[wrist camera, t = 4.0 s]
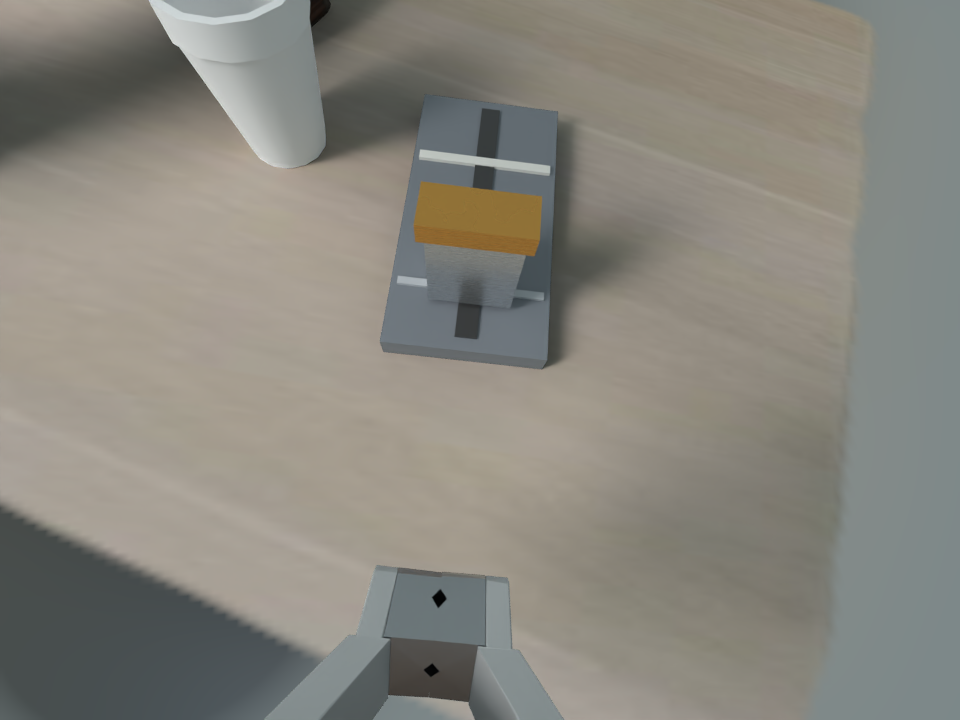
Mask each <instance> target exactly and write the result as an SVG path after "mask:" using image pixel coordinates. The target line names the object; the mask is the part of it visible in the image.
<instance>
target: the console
mask: <svg viewBox="0 0 960 720" xmlns="http://www.w3.org/2000/svg"><path fill="white" fill-rule="evenodd" d="M557 120H558V112H557V111H550V110H542V109H534V108H527V107H519V106H512V105H504V104H496V103H489V102H481V101H474V100H466V99H458V98H451V97H443V96H436V95H428V94H425V97H424V102H423V108H422V113H421V119H420V124H419V130H418V135H417V141H416V146H415V152H414V157H413V163H412V168H411V173H410V179H409V184H408V190H407V195H406V201H405V206H404V212H403V217H402V223H401V228H400V234H399V239H398V245H397V250H396V255H395V261H394V266H393V272H392V277H391V283H390V288H389V294H388V299H387V305H386V310H385V316H384V321H383V327H382V332H381V337H380V344H381V346H382V349H383V352H391V353H400V354H409V355H418V356H427V357H436V358H445V359H454V360H463V361H472V362H481V363H490V364H499V365H508V366H517V367H526V368H535V369H542V368H543V366H544V365H545V363H546V362H547V355H548V331H549V308H550V284H551V261H552V237H553V214H554V190H555V167H556V143H557ZM421 181H423V182H431V183H439V184H447V185H455V186H463V187H471V188H479V189H487V190H495V191H503V192H511V193H519V194H527V195H535V196H542V210H541V228H540V241H539V244H538V247H537V250H536V253H535V256H528V255H526V257H525V261H524V264H523V267H522V271H521V274H520V277H519V281H518V284H517V287H516V291H515V294H514V297H513V301H512V304H511V307H510V309H508V308H499V307H491V306H482V305H473V304H465V303H456V302H447V301H439V300H430V299H428V290H427V277H426V264H425V251H424V243H419V242H415V235H414V226H413V225H414V219H415V213H416V207H417V201H418V195H419V190H420V184H421Z"/></svg>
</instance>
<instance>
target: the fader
mask: <svg viewBox="0 0 960 720" xmlns="http://www.w3.org/2000/svg"><path fill="white" fill-rule="evenodd" d="M541 210H542V196H535V195H527V194H519V193H511V192H503V191H495V190H487V189H479V188H471V187H463V186H455V185H447V184H439V183H431V182H423V181H421V184H420V190H419V195H418V201H417V207H416V213H415V219H414V225H413V226H414V235H415V242H419V243H424V251H425V264H426V277H427V290H428V299H430V300H439V301H447V302H456V303H465V304H473V305H482V306H491V307H499V308H508V309H510V307H511V304H512V301H513V297H514V294H515V291H516V287H517V284H518V281H519V277H520V274H521V271H522V267H523V264H524V261H525V257H526V255H528V256H535V253H536V250H537V247H538V244H539V241H540V228H541Z"/></svg>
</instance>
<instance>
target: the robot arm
mask: <svg viewBox="0 0 960 720" xmlns="http://www.w3.org/2000/svg"><path fill="white" fill-rule="evenodd" d="M388 695H394V696H412V697H429V698H438V699H446V700H455V701H464V702H469V707H470V709H471V711H472V714H473V716H474V718H475V720H564V719H563V717H562V716H561V714H560V713H559V711H558V710H557V708H556V706H555V705H554V703H553V702H552V700H551V699H550V697H549V696H548V694H547V693H546V691H545V689H544V688H543V686H542V685H541V683H540V682H539V680H538V679H537V677H536V675H535V674H534V672H533V671H532V669H531V668H530V666H529V665H528V663H527V661H526V660H525V658H524V657H523V655H522V654H521V652H520V651H519V650H515V649H512V632H511V611H510V591H509V581H508V578H505V577H494V576H485V575H477V574H464V573H451V572H442V573H441V572H433V571H424V570H416V569H408V568H400V567H390V566H380V565H377V566H376V568H375V570H374V572H373V575H372V579H371V582H370V586H369V590H368V593H367V597H366V600H365V604H364V608H363V611H362V615H361V618H360V622H359V625H358V629H357V633H356V635H348V636H347V637H346V638H345V639H344V640H343V641H342V642H341V643H340V644H339V645H338V646H337V647H336V648H335V649H334V650H333V651H332V652H331V653H330V654H329V655H328V656H327V657H326V658H325V659H324V660H323V661H322V662H321V663H320V664H319V665H318V666H317V667H316V668H315V669H314V670H313V671H312V672H311V673H310V674H309V675H308V676H307V677H306V678H305V679H304V680H303V681H302V682H301V683H300V684H299V685H298V686H297V687H296V688H295V689H294V690H293V691H292V692H291V693H290V694H289V695H288V696H287V697H286V698H285V699H284V700H283V701H282V702H281V703H280V704H279V705H278V706H277V707H276V708H275V709H274V710H273V711H272V712H271V713H270V714H269V715H268V716H267V717H266V718H265V719H264V720H373V718H374V717H375V716H376V714H377V713H378V712H379V710H380V709H381V707H382V706H383V704H384V703H385V702H386V700H387V699H388Z"/></svg>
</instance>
